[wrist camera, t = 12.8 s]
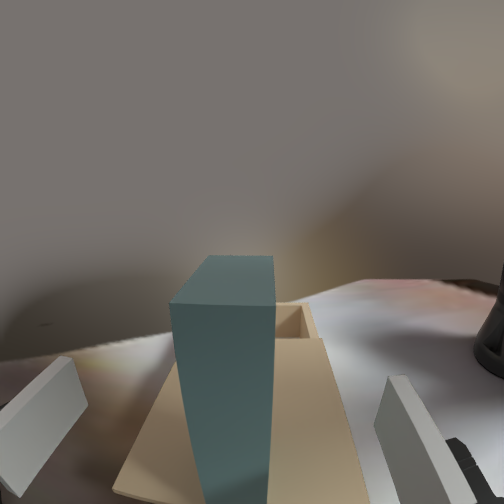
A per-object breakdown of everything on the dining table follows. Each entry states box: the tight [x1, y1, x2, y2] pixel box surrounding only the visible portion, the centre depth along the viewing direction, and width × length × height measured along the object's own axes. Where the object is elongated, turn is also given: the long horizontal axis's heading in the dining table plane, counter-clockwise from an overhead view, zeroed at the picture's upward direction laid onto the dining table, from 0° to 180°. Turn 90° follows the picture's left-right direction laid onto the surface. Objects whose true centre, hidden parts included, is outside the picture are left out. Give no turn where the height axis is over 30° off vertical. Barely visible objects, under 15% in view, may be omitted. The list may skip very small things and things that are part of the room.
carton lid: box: [112, 255, 370, 504], centre depth 19 cm, size 20×14×12 cm
